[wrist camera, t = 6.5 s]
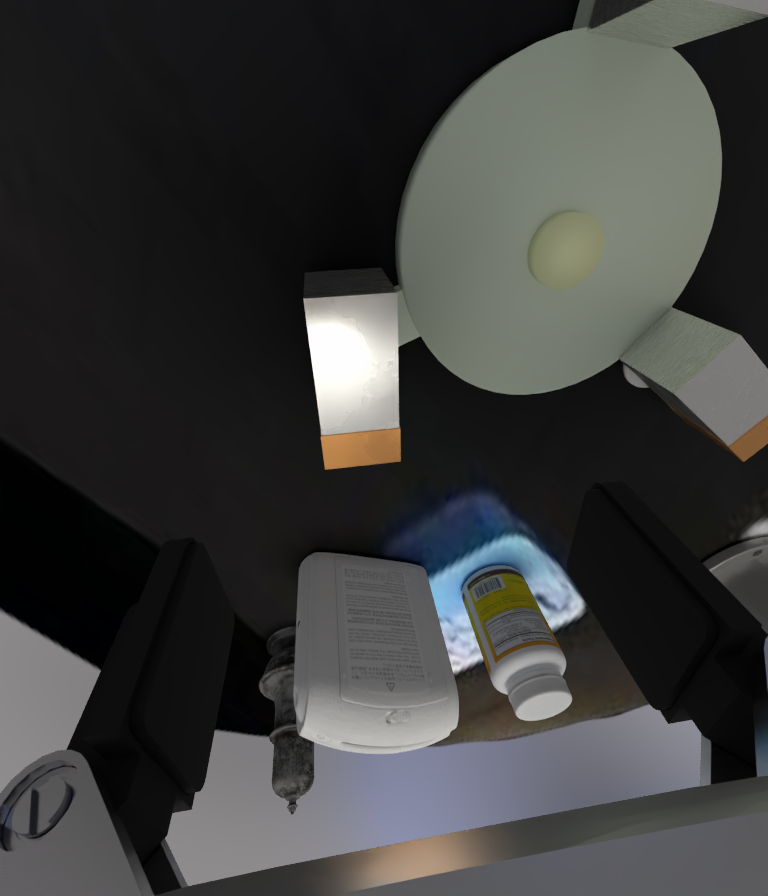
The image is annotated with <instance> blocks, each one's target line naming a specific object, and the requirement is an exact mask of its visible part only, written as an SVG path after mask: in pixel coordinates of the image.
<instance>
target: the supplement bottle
mask: <svg viewBox="0 0 768 896" xmlns="http://www.w3.org/2000/svg"><path fill="white" fill-rule="evenodd" d="M462 598H463V602H464V605H465V608H466V610H467V613H468V616H469V619H470V622H471V624H472V627H473V630H474V633H475V636H476V639H477V642H478V644H479V647H480V650H481V653H482V656H483V659H484V662H485V665H486V667H487V670H488V673H489V676H490V679H491V681H492V683H493V685H494V687H495V688H496V689H497V690H498V691H500V692H502V693H504V694H507V695H508V696H509V700H510V702H511V704H512V706H513V709H514V711H515V714H516V716H517V717H518V718H519V719H522V720H525V721H536V720H541V719H546V718H549V717H552V716H554V715H556V714H558V713H560V712H562V711H563V710H565V709H566V708H567V707H568V706H569V705H570V703H571V701H572V696H571V694H570V691H569V689H568V687H567V685H566V681H565V680H564V679H563V677H562V675H563V673H564V671H565V668H566V659H565V656H564V654H563V652H562V650H561V648H560V646H559V645H558V643H557V641H556V639H555V637H554V635H553V633H552V631H551V629H550V627H549V625H548V623H547V622H546V620H545V618H544V616H543V614H542V612H541V610H540V608H539V606H538V604H537V602H536V600H535V599H534V597H533V595H532V593H531V591H530V589H529V587H528V585H527V583H526V581H525V579H524V578H523V576H522V575H521V573H520V572H519V571H518V570H516V569H515V568H513V567H510V566H505V565H495V566H490V567H486V568H484V569H481V570H479V571H477V572H476V573H474V574H473V575H472V576H471V577H469V579H468V580H467V581H466V582H465V584H464V586H463V589H462Z"/></svg>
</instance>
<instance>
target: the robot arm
mask: <svg viewBox="0 0 768 896" xmlns="http://www.w3.org/2000/svg"><path fill="white" fill-rule="evenodd" d="M567 568H568V572H569V574H570V576H571V578H572V580H573V581H574V583H575V584H576V586H577V588H578V589H579V591H580V593H581V594H582V596H583V597H584V599H585V601H586V602H587V604H588V605H589V607H590V609H591V610H592V612H593V614H594V615H595V617H596V618H597V620H598V622H599V623H600V625H601V627H602V628H603V630H604V631H605V633H606V635H607V636H608V638H609V640H610V641H611V643H612V644H613V646H614V648H615V649H616V651H617V653H618V654H619V656H620V657H621V659H622V661H623V662H624V664H625V665H626V667H627V669H628V670H629V672H630V674H631V675H632V677H633V678H634V680H635V682H636V683H637V685H638V687H639V688H640V690H641V691H642V693H643V695H644V696H645V698H646V700H647V701H648V702H649V704H650V705H651V706H652V707H653V708H655V709H656V710H660V711H661V713H662V715H663V716H664V718H665V719H666V721H667V722H668V724H670V723H675V722H681V721H686V720H693V722H694V723H695V725H696V726H697V728H698V729H699V731H700V732H701V736H702V737H701V767H700V787H693V788H687V789H682V790H676V791H671V792H666V793H660V794H656V795H650V796H644V797H639V798H634V799H628V800H623V801H617V802H612V803H607V804H601V805H596V806H591V807H585V808H581V809H575V810H569V811H564V812H559V813H553V814H548V815H543V816H538V817H533V818H527V819H522V820H517V821H511V822H506V823H501V824H496V825H490V826H485V827H480V828H475V829H470V830H464V831H459V832H454V833H449V834H444V835H439V836H434V837H429V838H423V839H418V840H412V841H408V842H402V843H397V844H392V845H387V846H382V847H377V848H372V849H367V850H361V851H356V852H351V853H346V854H342V855H336V856H331V857H327V858H321V859H316V860H311V861H306V862H300V863H295V864H290V865H285V866H280V867H275V868H271V869H266V870H262V871H257V872H252V873H248V874H243V875H239V876H234V877H230V878H225V879H220V880H216V881H211V882H207V883H202V884H197V885H192V886H187V883H186V881H185V879H184V877H183V875H182V873H181V871H180V869H179V867H178V865H177V863H176V861H175V858H174V856H173V854H172V852H171V850H170V848H169V846H168V844H167V842H166V840H165V837H166V836H167V834H168V829H169V824H170V820H171V816H172V813H175V812H180V811H186V810H191V809H192V805H193V800H194V794H195V792H199V791H201V789H202V787H203V785H204V783H205V778H206V773H207V767H208V763H209V757H210V752H211V747H212V741H213V736H214V731H215V726H216V720H217V715H218V710H219V704H220V699H221V694H222V688H223V683H224V678H225V672H226V667H227V662H228V656H229V651H230V646H231V641H232V635H233V630H234V613H233V610H232V607H231V605H230V603H229V601H228V598H227V596H226V594H225V591H224V589H223V587H222V584H221V582H220V580H219V578H218V575H217V573H216V571H215V568H214V566H213V564H212V562H211V559H210V557H209V555H208V552H207V550H206V548H205V546H204V544H203V543H197V542H196V541H195V539H194V538H184V539H177V540H170V541H166V542H165V543H164V544H163V546H162V548H161V550H160V552H159V555H158V557H157V560H156V562H155V564H154V567H153V569H152V571H151V574H150V576H149V579H148V581H147V583H146V586H145V588H144V590H143V593H142V595H141V598H140V600H139V602H138V603H137V604H134V605H133V606H132V607H131V608H130V609H129V610H128V612H127V613H126V615H125V617H124V620H123V622H122V624H121V626H120V629H119V631H118V633H117V636H116V638H115V640H114V642H113V645H112V647H111V649H110V652H109V654H108V656H107V658H106V661H105V663H104V665H103V668H102V670H101V672H100V674H99V677H98V679H97V682H96V684H95V686H94V688H93V691H92V693H91V695H90V697H89V700H88V702H87V704H86V706H85V709H84V711H83V714H82V716H81V718H80V720H79V723H78V725H77V727H76V729H75V732H74V734H73V736H72V738H71V741H70V743H69V745H68V748H67V750H61V751H55V752H53V753H50V754H48V755H45V756H42V757H41V758H39V759H38V760H36V761H35V762H33V763H31V764H30V765H28V766H27V767H25V769H23V770H22V771H21V772H20V773H19V774H18V775H17V776H15V777H14V778H13V779H12V780H11V781H10V783H9V784H8V785H7V786H6V787H5V788H4V790H3V791H2V792H1V793H0V896H768V537H761V538H756V539H752V540H748V541H745V542H742V543H739V544H736V545H734V546H731V547H729V548H727V549H725V550H723V551H721V552H719V553H717V554H716V555H714V556H712V557H710V558H709V559H707V560H706V561H704V562H703V563H702V562H701V561H700V560H699V559H698V558H697V557H696V556H695V555H694V554H693V553H692V552H691V551H690V550H689V549H688V548H687V547H686V546H685V545H684V544H683V543H682V542H681V541H680V540H679V539H678V538H677V537H676V536H675V535H674V534H673V533H672V532H671V531H670V529H669V528H668V527H667V526H666V525H665V524H664V523H663V522H662V521H661V520H660V519H659V518H658V517H657V516H656V515H655V514H654V513H653V512H652V511H651V510H650V509H649V508H648V507H647V506H646V505H645V504H644V503H643V502H642V501H641V500H640V499H639V498H638V497H637V496H636V495H635V494H634V492H633V491H632V490H631V489H630V488H629V487H628V486H627V485H626V484H625V483H623V482H622V481H620V480H613V481H605V482H598V483H594V484H593V485H592V487H591V489H590V490H587V491H586V494H585V497H584V501H583V505H582V508H581V512H580V516H579V519H578V523H577V527H576V531H575V534H574V538H573V542H572V546H571V549H570V553H569V557H568V561H567Z"/></svg>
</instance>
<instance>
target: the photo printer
mask: <svg viewBox="0 0 768 896" xmlns="http://www.w3.org/2000/svg"><path fill="white" fill-rule="evenodd" d="M293 697H294V707H295V711H296V723H297V731H298V734H299V735H300V736H302V737H304V738H306V739H308V740H311V741H313V742H315V743H318V744H321V745H324V746H327V747H331V748H335V749H339V750H343V751H349V752H356V753H366V754H391V753H400V752H405V751H410V750H414V749H419V748H422V747H425V746H428V745H431V744H433V743H435V742H438V741H440V740H442V739H444V738H446V737H447V736H449V734H450V732H451V731H452V730H454V729H455V728H456V727H457V724H458V716H459V700H458V692H457V686H456V682H455V678H454V675H453V671H452V667H451V663H450V660H449V656H448V652H447V649H446V645H445V641H444V637H443V634H442V630H441V626H440V622H439V619H438V615H437V611H436V607H435V604H434V599H433V596H432V592H431V588H430V584H429V580H428V577H427V573H426V571H425V569H424V568H423V567H421V566H418V565H415V564H410V563H405V562H398V561H391V560H383V559H377V558H369V557H361V556H353V555H347V554H338V553H327V552H315V553H313V554H311V555H309V556H308V557H306V558H305V559H304V560H303V561H302V563H301V565H300V568H299V579H298V599H297V621H296V643H295V668H294V691H293Z"/></svg>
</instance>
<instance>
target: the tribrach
mask: <svg viewBox="0 0 768 896" xmlns="http://www.w3.org/2000/svg"><path fill="white" fill-rule="evenodd" d="M594 3H595V0H580V2H579V5H578V9H577V13H576V17H575V21H574V25H573V29H572V30H570V31H565V32H562V33H559V34H556V35H554V36H551V37H549V38H546V39H544V40H541V41H539V42H536V43H534V44H532V45H531V46H529V47H527V48H525V49H523V50H521V51H519V52H518V53H516V54H514V55H512V56H510V57H509V58H507V59H505V60H503V61H502V62H500V63H498V64H497V65H495V66H493V67H492V68H490V69H489V70H488V71H486V72H485V73H484V74H483V75H481V76H480V77H479V78H478V79H476V80H475V81H474V82H472V83H471V84H470V85H469V86H468V87H467V88H466V89H465V90H464V91H463V92H462V93H461V94H460V95H459V96H458V97H457V98H456V99H455V100H454V101H453V102H452V103H451V105H450V106H449V107H448V109H447V110H446V111H445V113H444V114H443V115H442V116H441V118H440V119H439V120H438V122H437V123H436V124H435V126H434V127H433V129H432V131H431V132H430V134H429V136H428V137H427V139H426V141H425V142H424V144H423V146H422V147H421V149H420V152H419V154H418V156H417V158H416V160H415V163H414V165H413V167H412V169H411V171H410V174H409V177H408V180H407V183H406V186H405V189H404V192H403V195H402V200H401V205H400V209H399V214H398V219H397V228H396V239H395V257H396V270H397V277H398V284H399V285H397V286H395V287H394V288H395V289H396V291H397V292H398V347H399V346H401V345H403V344H405V343H407V342H409V341H411V340H413V339H416V338H418V337H420V336H421V337H422V339H423V341H424V342H425V344H426V345H427V347H428V348H429V349H430V351H431V352H432V353H433V354H434V356H435V357H436V358H437V359H438V360H439V361H440V362H441V363H442V364H443V365H444V366H445V367H446V368H447V369H448V370H450V371H451V372H452V373H453V374H455V375H456V376H458V377H460V378H461V379H463V380H464V381H466V382H468V383H470V384H472V385H475V386H477V387H479V388H482V389H486V390H489V391H493V392H497V393H504V394H517V395H528V394H537V393H544V392H549V391H553V390H558V389H561V388H564V387H567V386H570V385H573V384H576V383H578V382H580V381H582V380H585V379H587V378H589V377H591V376H593V375H595V374H597V373H598V372H600V371H602V370H604V369H605V368H607V367H609V366H610V365H612V364H613V363H614V362H616V361H617V360H619V359H618V358H619V357H620V356H621V355H622V354H623V353H624V352H625V351H626V350H627V349H628V348H629V347H630V346H631V345H632V344H633V343H634V342H635V341H636V340H637V339H638V338H639V337H640V336H641V335H642V334H643V333H644V332H645V331H646V330H647V329H648V328H649V327H650V326H651V325H652V324H653V323H654V322H655V321H656V320H657V319H658V318H659V317H660V316H661V315H662V314H663V313H664V312H665V311H666V310H667V309H668V308H669V307H672V305H673V304H674V303H675V301H676V300H677V298H678V297H679V295H680V294H681V292H682V291H683V289H684V288H685V286H686V284H687V282H688V281H689V279H690V277H691V275H692V274H693V272H694V270H695V268H696V266H697V263H698V261H699V259H700V257H701V255H702V253H703V251H704V248H705V245H706V242H707V240H708V237H709V234H710V231H711V228H712V225H713V221H714V217H715V213H716V209H717V205H718V199H719V192H720V185H721V171H722V151H721V140H720V131H719V127H718V123H717V119H716V114H715V110H714V107H713V105H712V103H711V100H710V98H709V95H708V93H707V90H706V88H705V86H704V85H703V83H702V82H701V80H700V78H699V77H698V75H697V74H696V72H695V70H694V69H693V68H692V67H691V66H690V65H689V64H688V63H687V61H686V60H685V59H684V58H683V57H682V56H681V55H680V54H679V53H678V52H677V51H675V50H674V49H672V48H668V49H665V48H660V47H655V46H650V45H646V44H641V43H636V42H632V41H627V40H622V39H618V38H613V37H608V36H604V35H599V34H594V33H590V32H587V29H588V25H589V22H590V18H591V14H592V11H593V7H594ZM309 346H310V345H309ZM623 373H624V376H625V378H626V380H627V381H628V382H630V383H631V384H632V385H634V386H637V387H641V388H646V387H648V386H647V385H646V384H645V383H644V382H643V381H642V380H641V379H640V378H639V377H638V376H637V375H636V374H634V373H633V372H632V371H631V370H630V369H629V368H628V367H627V366H626V365H625V364H624V363H623Z"/></svg>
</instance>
